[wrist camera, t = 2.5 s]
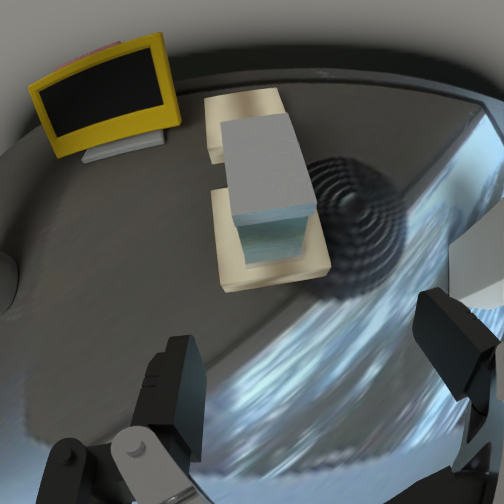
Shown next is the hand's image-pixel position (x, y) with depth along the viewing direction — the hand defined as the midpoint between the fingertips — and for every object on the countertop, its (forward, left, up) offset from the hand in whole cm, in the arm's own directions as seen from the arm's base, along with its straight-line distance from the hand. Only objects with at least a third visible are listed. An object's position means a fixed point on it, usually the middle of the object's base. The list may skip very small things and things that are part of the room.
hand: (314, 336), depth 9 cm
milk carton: (+23, +3, -18) cm, 29 cm away
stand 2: (0, +12, -18) cm, 21 cm away
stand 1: (0, +28, -18) cm, 33 cm away
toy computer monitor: (-18, +32, -18) cm, 41 cm away
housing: (0, +12, -15) cm, 19 cm away
